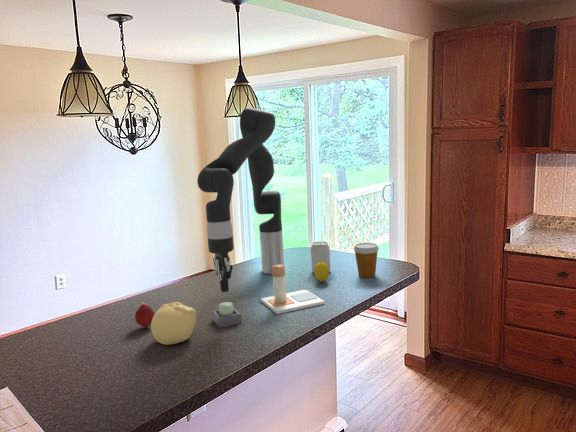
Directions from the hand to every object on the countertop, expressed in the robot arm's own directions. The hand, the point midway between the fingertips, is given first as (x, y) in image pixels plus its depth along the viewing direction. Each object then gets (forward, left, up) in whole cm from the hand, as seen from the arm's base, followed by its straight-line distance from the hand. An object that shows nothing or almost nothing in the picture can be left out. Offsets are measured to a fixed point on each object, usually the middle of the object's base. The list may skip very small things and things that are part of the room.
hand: (224, 291), depth 148 cm
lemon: (-19, +43, -10) cm, 48 cm away
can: (-31, +49, -10) cm, 59 cm away
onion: (-9, -23, -10) cm, 27 cm away
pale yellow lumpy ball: (+5, -17, -10) cm, 20 cm away
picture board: (-5, +24, -10) cm, 26 cm away
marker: (-5, +20, -9) cm, 22 cm away
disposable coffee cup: (-16, +61, -10) cm, 64 cm away
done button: (0, 0, -8) cm, 8 cm away
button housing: (0, 0, -10) cm, 10 cm away
